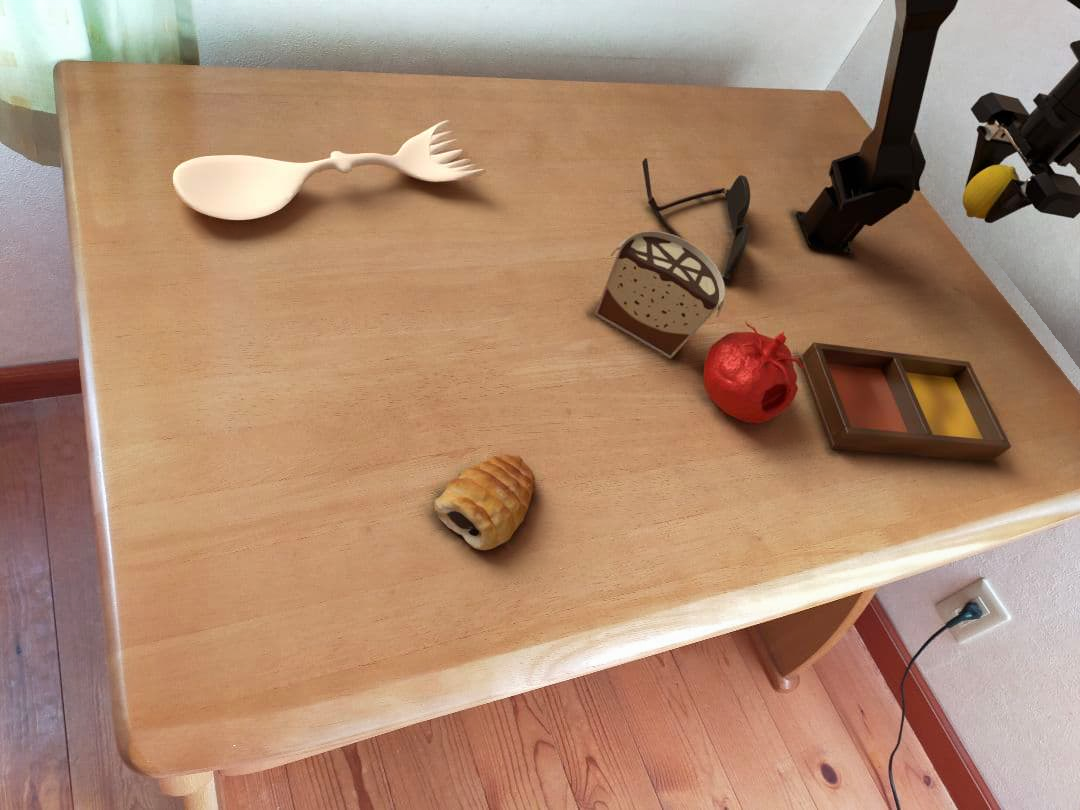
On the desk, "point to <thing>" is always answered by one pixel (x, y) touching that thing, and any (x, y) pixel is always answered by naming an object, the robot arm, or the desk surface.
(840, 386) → the sorting tray
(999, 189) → the lemon
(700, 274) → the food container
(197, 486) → the desk surface
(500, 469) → the pastry
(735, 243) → the sunglasses
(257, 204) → the spoon
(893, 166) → the robot arm
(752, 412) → the pomegranate
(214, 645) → the desk surface
